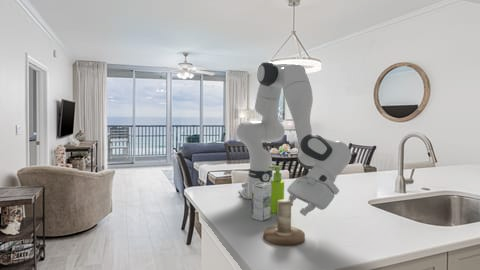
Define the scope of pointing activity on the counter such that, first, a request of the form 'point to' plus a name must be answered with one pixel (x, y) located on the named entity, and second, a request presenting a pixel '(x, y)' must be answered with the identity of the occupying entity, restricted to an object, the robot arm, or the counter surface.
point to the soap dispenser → (276, 189)
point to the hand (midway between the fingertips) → (294, 210)
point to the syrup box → (261, 201)
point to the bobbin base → (292, 240)
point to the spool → (284, 218)
